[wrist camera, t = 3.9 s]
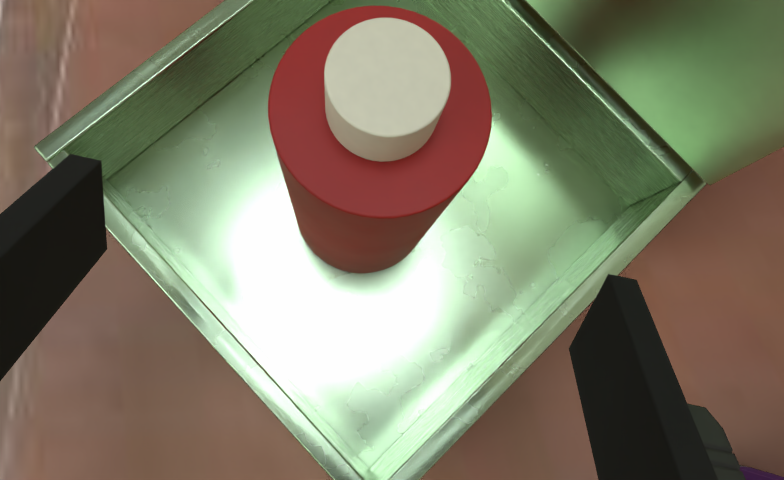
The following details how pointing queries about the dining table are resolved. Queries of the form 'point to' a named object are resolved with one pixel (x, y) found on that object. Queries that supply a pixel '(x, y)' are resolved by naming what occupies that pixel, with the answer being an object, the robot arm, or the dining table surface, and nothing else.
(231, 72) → the green square tray
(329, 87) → the ketchup
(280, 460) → the dining table surface
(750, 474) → the container
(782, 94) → the lid
